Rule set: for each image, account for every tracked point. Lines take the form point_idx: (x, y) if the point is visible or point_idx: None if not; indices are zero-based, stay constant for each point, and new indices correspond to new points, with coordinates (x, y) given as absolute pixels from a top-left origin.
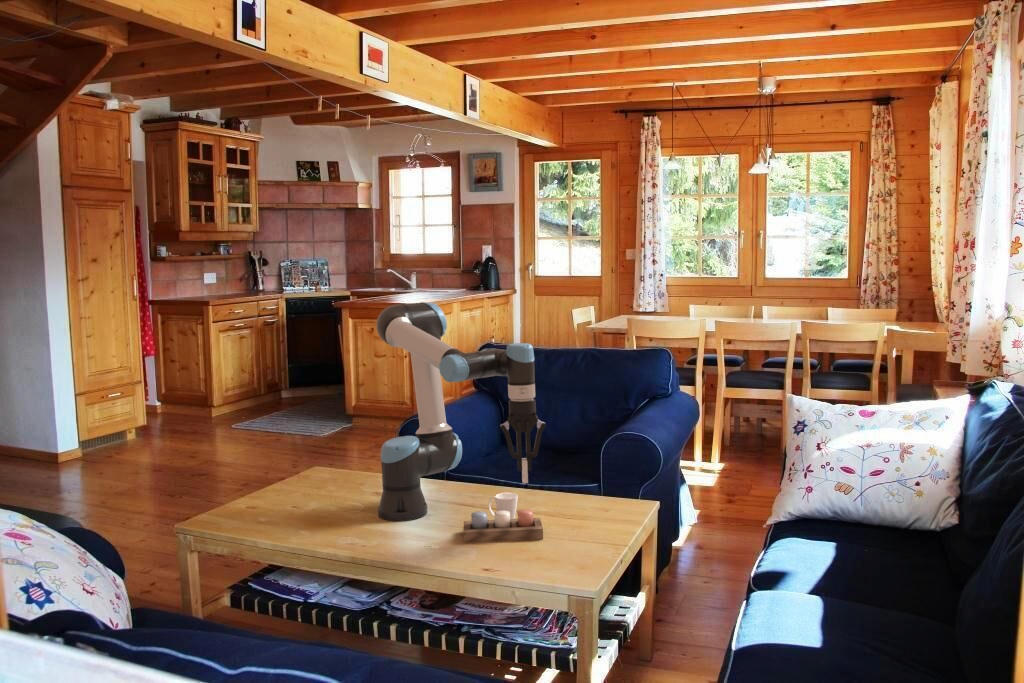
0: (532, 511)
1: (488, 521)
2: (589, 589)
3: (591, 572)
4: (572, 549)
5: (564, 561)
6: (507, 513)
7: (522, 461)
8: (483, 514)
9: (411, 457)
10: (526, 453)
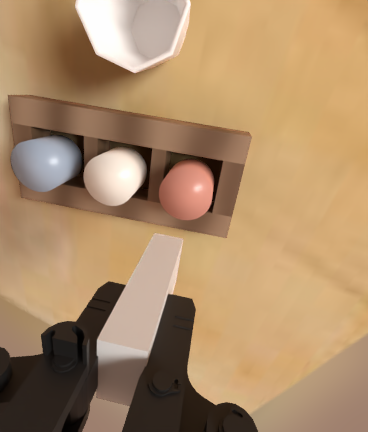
0: (210, 200)
1: (83, 123)
2: None
3: (253, 388)
4: (267, 300)
5: (227, 342)
6: (125, 194)
7: (104, 391)
8: (49, 178)
9: None
10: (128, 423)
